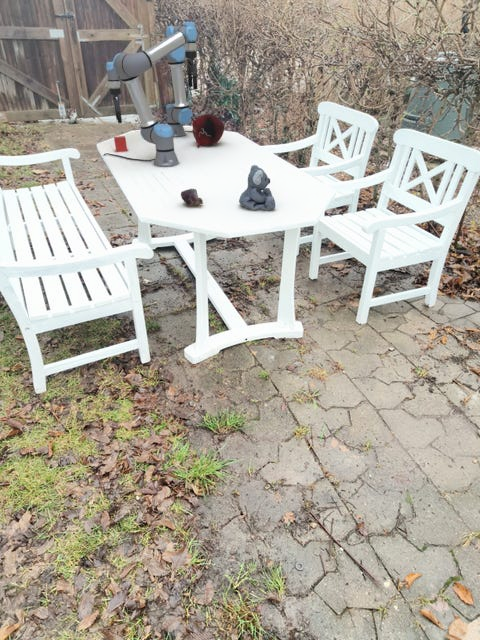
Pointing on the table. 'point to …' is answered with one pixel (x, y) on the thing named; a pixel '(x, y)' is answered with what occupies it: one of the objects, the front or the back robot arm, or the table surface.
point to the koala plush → (257, 191)
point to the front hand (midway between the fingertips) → (192, 88)
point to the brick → (120, 144)
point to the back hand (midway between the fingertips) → (119, 121)
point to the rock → (191, 197)
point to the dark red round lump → (207, 129)
